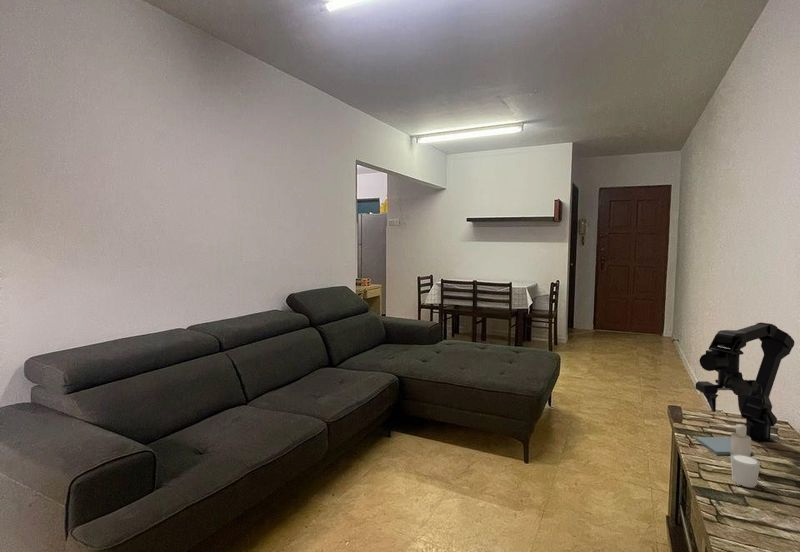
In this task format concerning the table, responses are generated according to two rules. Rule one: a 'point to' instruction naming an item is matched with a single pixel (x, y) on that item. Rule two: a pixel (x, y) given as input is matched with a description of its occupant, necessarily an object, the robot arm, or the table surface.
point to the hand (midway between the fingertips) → (727, 411)
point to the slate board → (717, 444)
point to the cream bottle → (740, 441)
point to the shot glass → (744, 470)
